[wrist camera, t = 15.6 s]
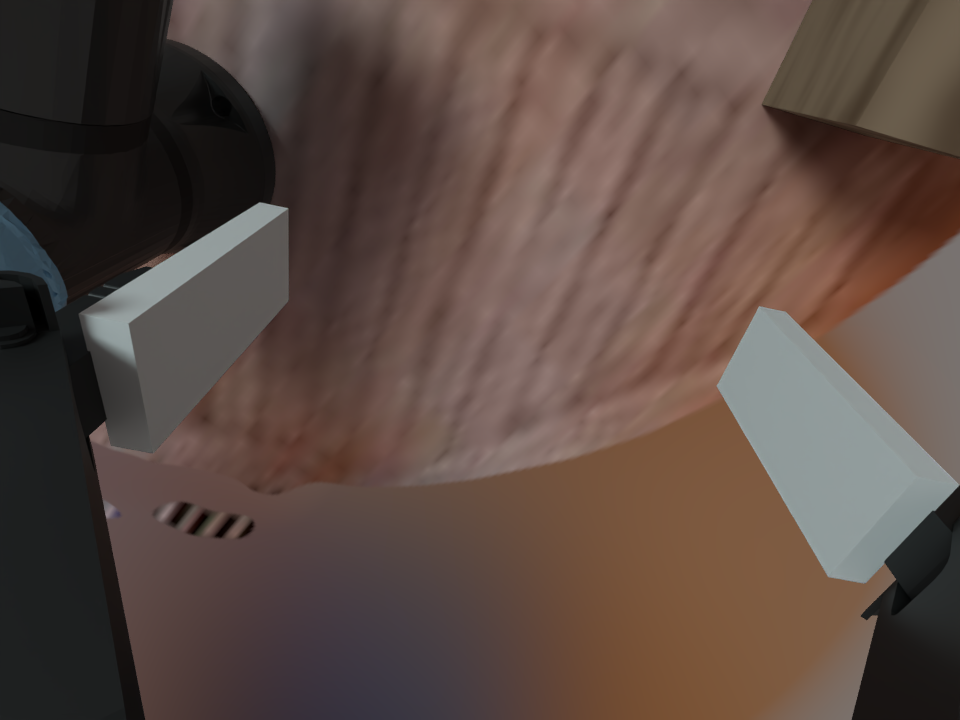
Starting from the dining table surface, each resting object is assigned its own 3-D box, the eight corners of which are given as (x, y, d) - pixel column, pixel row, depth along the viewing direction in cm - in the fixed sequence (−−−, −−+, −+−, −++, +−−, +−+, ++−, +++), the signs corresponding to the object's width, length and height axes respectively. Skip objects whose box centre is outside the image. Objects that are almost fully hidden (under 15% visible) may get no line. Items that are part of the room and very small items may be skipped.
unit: (762, 104, 36) (855, 125, 25) (871, -121, 30) (1054, -214, 19) (875, 138, 36) (1012, 172, 26) (1007, -77, 30) (1255, -143, 20)
